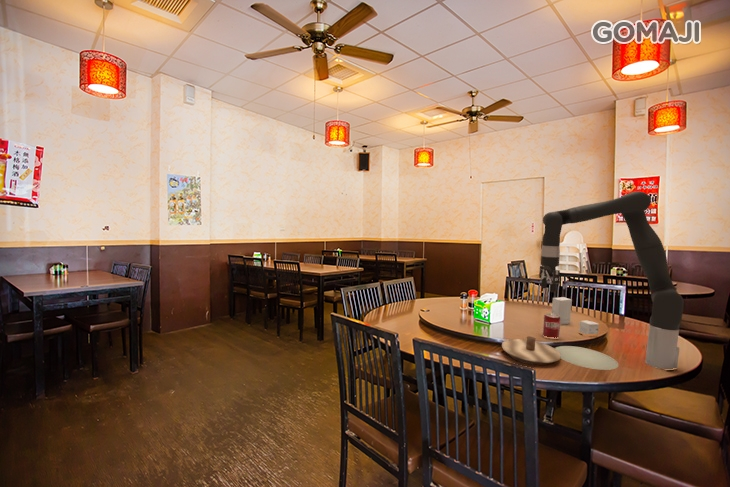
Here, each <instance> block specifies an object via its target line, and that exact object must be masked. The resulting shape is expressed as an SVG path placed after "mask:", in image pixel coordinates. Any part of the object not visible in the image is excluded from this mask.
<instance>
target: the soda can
mask: <svg viewBox="0 0 730 487" xmlns="http://www.w3.org/2000/svg"><path fill="white" fill-rule="evenodd" d="M560 319H561V318H560V316H559V315H556V314H552V312H551V313H549V312H547V313H545V314H544V315H543V325H542V326H543V327H542V336H543V335H544V336H547V337H554V338H555V337H556V338H557V337H559V338H560V329H561V325H560Z"/></svg>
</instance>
